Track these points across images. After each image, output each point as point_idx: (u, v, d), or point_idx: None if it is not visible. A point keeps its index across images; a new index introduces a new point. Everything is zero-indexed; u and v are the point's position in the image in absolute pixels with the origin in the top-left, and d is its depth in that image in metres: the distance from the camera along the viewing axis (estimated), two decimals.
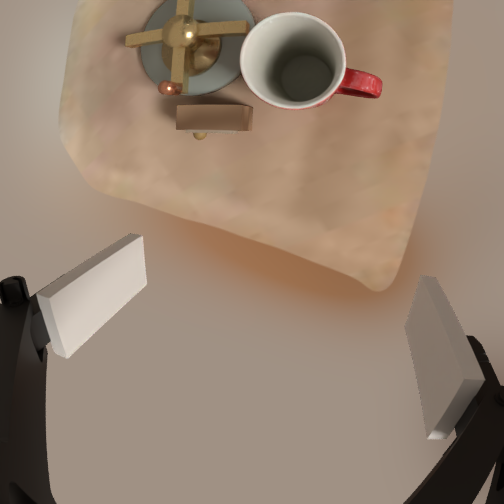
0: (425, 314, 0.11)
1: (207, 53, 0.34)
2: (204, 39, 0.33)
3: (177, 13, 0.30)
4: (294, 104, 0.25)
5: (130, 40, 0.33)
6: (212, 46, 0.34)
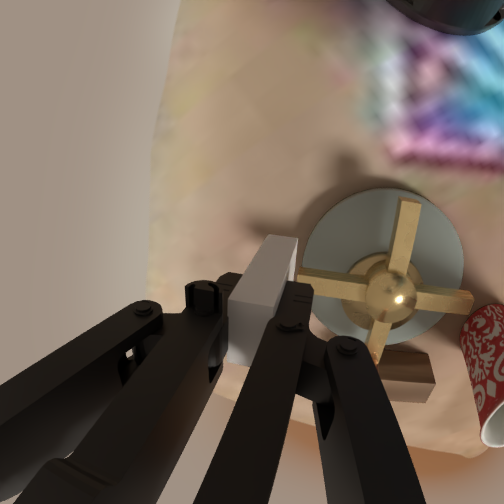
0: None
1: None
2: None
3: (391, 267, 0.24)
4: (503, 441, 0.19)
5: None
6: None
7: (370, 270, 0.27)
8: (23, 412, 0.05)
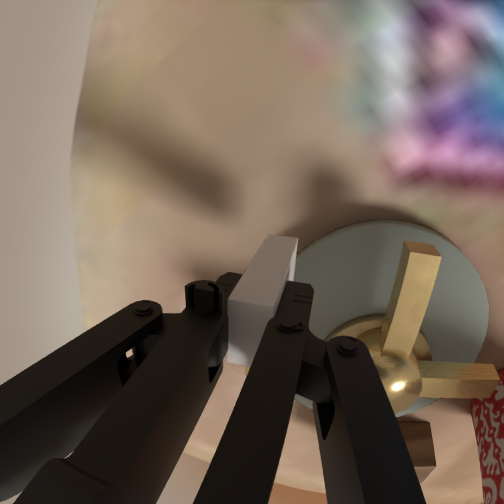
0: None
1: None
2: None
3: (387, 348, 0.15)
4: None
5: None
6: None
7: None
8: (23, 412, 0.05)
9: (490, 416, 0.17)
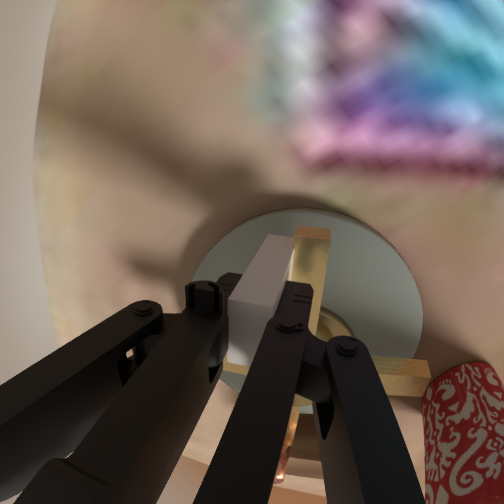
0: None
1: None
2: None
3: None
4: None
5: None
6: None
7: None
8: (23, 412, 0.05)
9: (435, 417, 0.18)
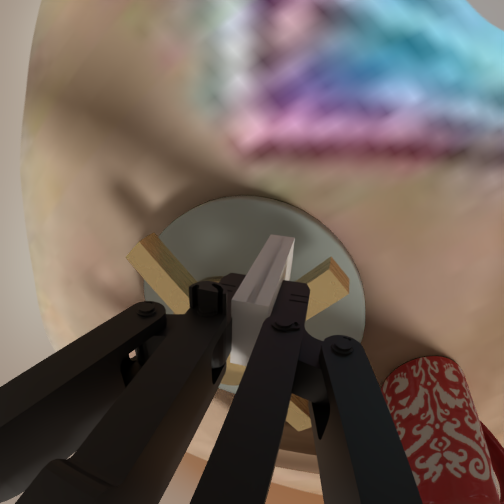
0: None
1: None
2: None
3: None
4: None
5: (140, 261, 0.18)
6: None
7: None
8: (25, 413, 0.05)
9: None
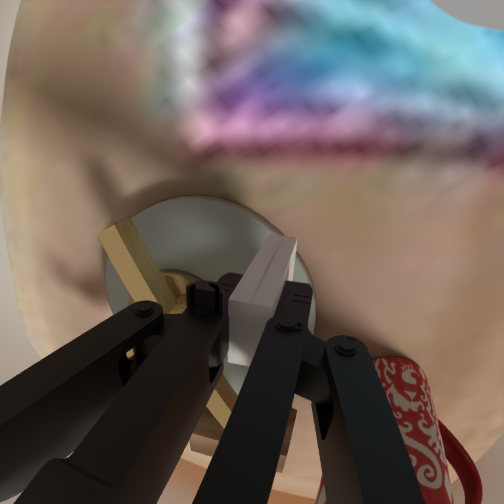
0: None
1: None
2: None
3: None
4: None
5: (110, 242, 0.17)
6: None
7: None
8: (23, 412, 0.05)
9: None
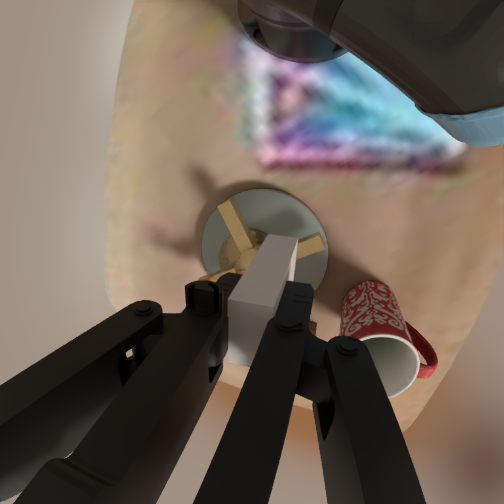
0: None
1: None
2: None
3: None
4: None
5: (225, 210, 0.35)
6: None
7: (261, 243, 0.38)
8: (23, 412, 0.05)
9: (344, 308, 0.38)
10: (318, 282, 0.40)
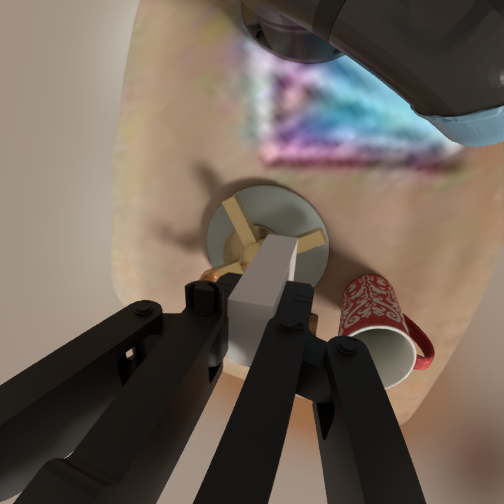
0: None
1: None
2: None
3: None
4: None
5: (230, 206, 0.37)
6: None
7: (264, 237, 0.39)
8: (23, 412, 0.05)
9: (344, 301, 0.39)
10: (319, 276, 0.41)
